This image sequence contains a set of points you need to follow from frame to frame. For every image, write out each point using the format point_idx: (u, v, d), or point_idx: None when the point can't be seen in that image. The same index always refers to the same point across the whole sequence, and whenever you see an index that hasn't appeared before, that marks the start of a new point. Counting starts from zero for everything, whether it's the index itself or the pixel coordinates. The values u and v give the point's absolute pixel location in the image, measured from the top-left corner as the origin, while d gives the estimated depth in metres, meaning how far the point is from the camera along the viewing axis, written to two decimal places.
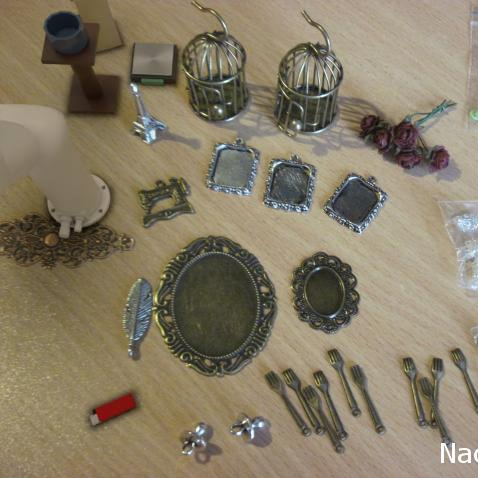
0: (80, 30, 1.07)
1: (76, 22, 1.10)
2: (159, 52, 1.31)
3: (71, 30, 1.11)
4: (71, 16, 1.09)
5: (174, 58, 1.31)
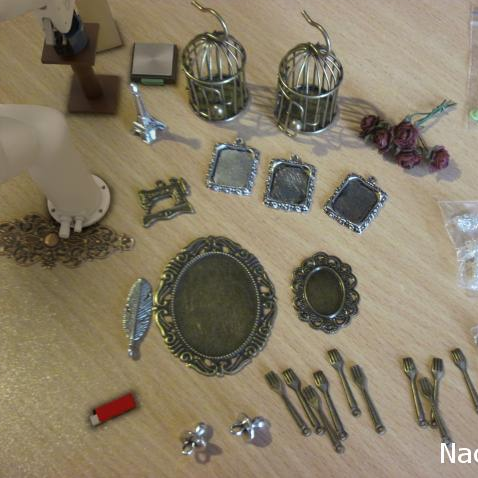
0: (80, 30, 1.07)
1: (76, 22, 1.10)
2: (159, 52, 1.31)
3: (71, 30, 1.11)
4: None
5: (174, 58, 1.31)
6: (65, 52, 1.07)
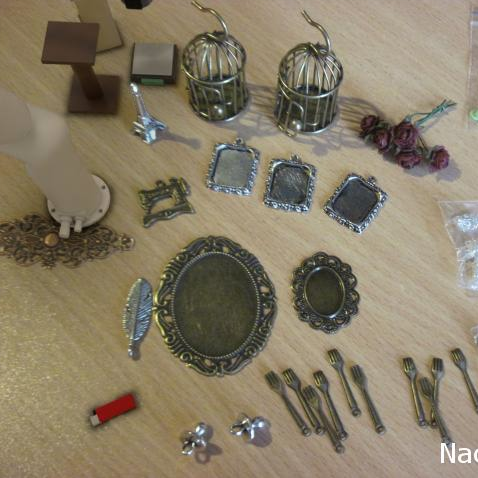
0: None
1: None
2: (159, 52, 1.31)
3: None
4: None
5: (174, 58, 1.31)
6: (135, 5, 1.08)
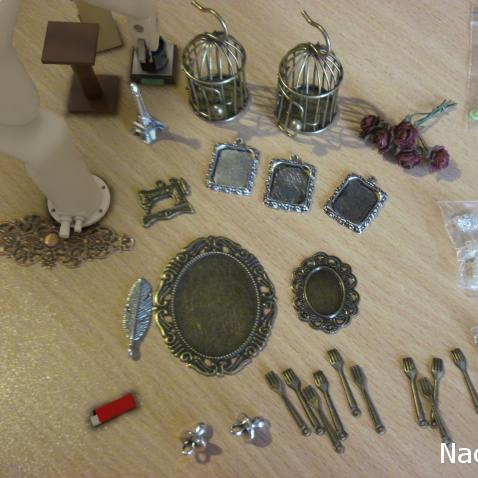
0: (164, 49, 1.26)
1: (159, 42, 1.29)
2: None
3: None
4: None
5: (174, 58, 1.31)
6: (150, 68, 1.24)
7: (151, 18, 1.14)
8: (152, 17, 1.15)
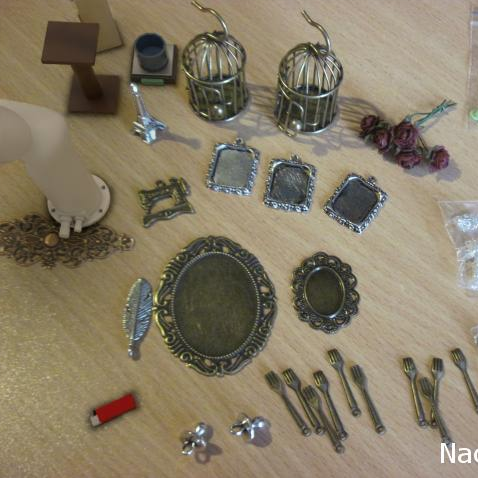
0: (164, 49, 1.26)
1: (159, 42, 1.29)
2: None
3: (154, 48, 1.30)
4: (155, 37, 1.28)
5: (174, 58, 1.31)
6: None
7: None
8: None
